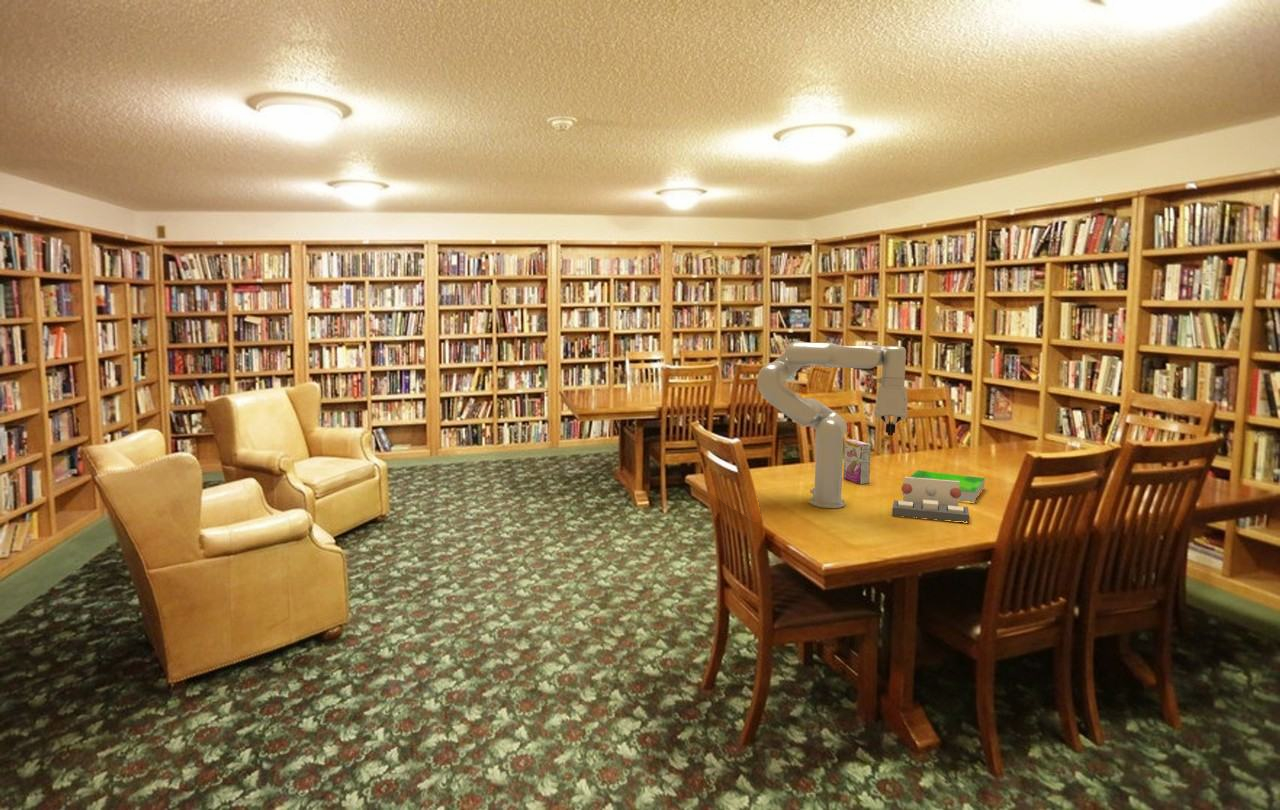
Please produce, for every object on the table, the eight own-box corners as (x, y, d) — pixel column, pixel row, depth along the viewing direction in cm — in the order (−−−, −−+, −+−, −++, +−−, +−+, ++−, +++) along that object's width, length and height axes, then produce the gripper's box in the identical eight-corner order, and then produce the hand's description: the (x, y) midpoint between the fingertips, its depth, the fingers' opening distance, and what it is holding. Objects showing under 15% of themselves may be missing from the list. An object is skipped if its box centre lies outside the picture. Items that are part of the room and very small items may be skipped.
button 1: (897, 512, 252) (897, 504, 251) (898, 509, 256) (898, 500, 256) (912, 514, 250) (912, 505, 250) (912, 510, 254) (913, 502, 254)
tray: (983, 490, 285) (984, 478, 285) (973, 505, 265) (974, 492, 264) (917, 482, 299) (917, 470, 298) (902, 495, 278) (903, 482, 277)
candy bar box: (842, 478, 303) (843, 439, 300) (852, 477, 304) (853, 438, 302) (859, 484, 292) (861, 444, 290) (869, 483, 294) (871, 443, 292)
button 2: (947, 517, 246) (948, 509, 246) (947, 513, 250) (947, 505, 250) (963, 519, 244) (963, 510, 244) (962, 515, 249) (963, 506, 248)
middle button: (922, 511, 249) (922, 503, 248) (922, 507, 253) (923, 499, 253) (937, 513, 247) (938, 504, 246) (937, 509, 251) (938, 500, 251)
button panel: (892, 516, 250) (893, 484, 249) (894, 505, 262) (895, 476, 261) (968, 523, 241) (970, 491, 240) (966, 512, 254) (968, 482, 252)
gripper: (869, 382, 250) (866, 435, 252) (915, 384, 244) (913, 438, 247) (871, 380, 256) (868, 431, 259) (916, 382, 251) (913, 434, 254)
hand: (890, 434), depth 253 cm, fingers closed
